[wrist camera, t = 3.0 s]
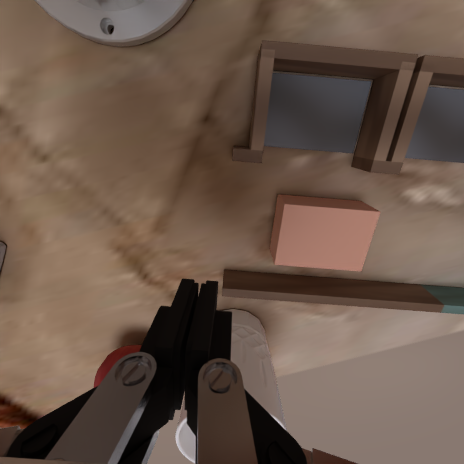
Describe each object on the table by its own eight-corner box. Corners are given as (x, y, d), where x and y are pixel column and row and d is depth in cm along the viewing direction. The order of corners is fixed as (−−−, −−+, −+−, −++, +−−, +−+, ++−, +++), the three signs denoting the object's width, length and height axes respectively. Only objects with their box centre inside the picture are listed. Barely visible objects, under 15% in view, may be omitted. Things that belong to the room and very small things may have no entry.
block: (278, 194, 20) (284, 204, 18) (360, 201, 21) (380, 211, 18) (269, 248, 22) (274, 264, 20) (345, 254, 22) (361, 271, 20)
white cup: (267, 360, 28) (283, 474, 19) (198, 359, 28) (179, 472, 19) (272, 303, 25) (293, 406, 16) (194, 302, 25) (170, 404, 16)
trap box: (240, 53, 17) (241, 38, 14) (601, 86, 17) (671, 77, 14) (223, 277, 24) (221, 296, 21) (482, 296, 24) (514, 318, 21)
